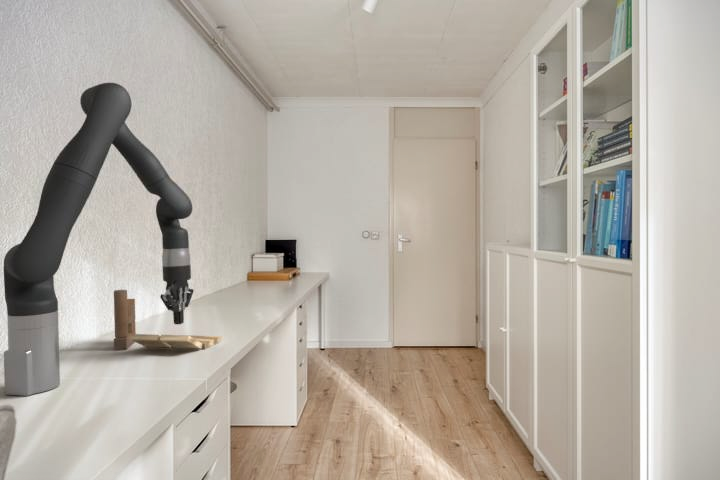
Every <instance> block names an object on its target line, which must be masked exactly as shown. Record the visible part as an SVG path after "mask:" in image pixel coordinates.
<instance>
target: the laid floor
mask: <svg viewBox="0 0 720 480" xmlns="http://www.w3.org/2000/svg"><path fill="white" fill-rule="evenodd" d="M185 335H186V336H190V337H192V338H194V339H195V340H197V341H199V342H201V343H202V348H201V349H200V350H207V349H209V348H210V346H211V347H213V346H215V345H216V344H215V343H217V342H219V341H221V342H222V336H221V335H191V334H190V335H187V334H185ZM219 343H220V342H219ZM214 344H215V345H214ZM217 344H218V343H217ZM212 345H213V346H212ZM208 347H209V348H208ZM148 348H151V349H153V348H154V349H155V348H157V349H168V348H167V347H148ZM206 348H207V349H206ZM170 349H175V348H174V347H171V348H170ZM178 349H181V350H184V349H185V350H188V349H189V350H199V349H198V348H178Z"/></svg>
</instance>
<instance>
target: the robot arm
mask: <svg viewBox="0 0 720 480" xmlns="http://www.w3.org/2000/svg"><path fill="white" fill-rule="evenodd" d="M132 103H133V102H132V98H131V96H130V93H129V92H128V90H127V89H126V88H125V87H124V86H122V85H120V84H119V83H116V82H103V83H99V84H96V85H94V86H91V87H88V88H87V89H85V90H84V91H83V92H82V93H81V95H80V103H79V104H80V107H81V109H82V111H83V113H84V114H85V116H86V117H85V118H84V119H85V120H83V123H82V125H81V126H80V128H79V130H78V131H77V133H76V134H75V135H74V136H73V137H72V138H71V139H70V141H68V143H67V144H66V145H65V146H64V147H63V149H62V150H61V151H60V152H59V154H58V155H57V156H56V158H55V160H54V162H53V164H52V165H51V168H50V170H49V172H48V174H47V176H46V178H45V180H44V184H43V186H42V190H41V194H40V197H39V203H38V207H37V212H36V215H35V218H34V220H33V222H32V224H31V226H30V227H29V229H28V231H27V232H26V235H25V236H24V237H23V239H22V240H21V242H20V243H17V244H16V245H14V246H12V247H11V248H10V249H9V250H8V251H7V252H6V254H5V255H4V259H3V282H4V283H3V285H4V300H5V304H6V311H7V312H6V313H7V350H6V349H5V350H4V351H3V367H4V368H3V369H4V370H3V373H4V375H3V379H4V395H8V396H23V397H24V396H25V397H28V396H31V395H35V394H40V393H43V392H48V391H49V390H53V389H56V388H57V387H59V386H60V384H61V376H60V375H61V373H60V371H61V370H60V369H61V368H60V342H59V341H60V337H59V336H60V332H59V329H60V328H59V302H58V298H57V294H56V290H55V284H54V281H55V280H54V276H55V274H56V273H57V272H58V270H59V269H60V266H61V263H62V260H63V256H64V253H65V249H66V247H67V244H68V240H69V237H70V234H71V232H72V229H73V228H74V226H75V224H76V222H77V220H78V219H79V217H80V215H81V213H82V211H83V209H84V207H85V206H86V203H87V202H88V199H89V197H90V195H91V194H92V191H93V189H94V187H95V184H96V182H97V180H98V178H99V176H100V172H101V169H102V168H103V167H104V163H105V161H106V159H107V156H108V153H109V152H110V149H111V146H112V145H113V146H114V148H115V149H116V150H117V152H119V154H120V155H121V156H122V157H123V158H124V160H125V161H126V162H127V164H128V165H129V166H130V168H131V169H132V170H133V172H134V174H135V175H136V176H137V178H138V179H139V181H140V182H141V184H142V185H143V186H144V188H145V189H146V191H147V192H148V193H150V194H152V195H156V196H157V197H159V199H158V200H157V202H156V205H155V214H156V219H157V222H158V226H159V229H160V231H161V232H160V233H161V238H162V242H161V243H162V254H161V255H162V256H161V259H162V260H161V262H162V264H161V265H162V266H161V268H162V281H163V282H165V283H166V286H165V292H164V293H163V294H160V296H159V297H160V300H161V301H162V302H163V304H164V306H165V307H166V309H167V310H168V311H171V312H172V313H173V314H172V316H173V324H174V325H182V324H184V321H185V320H184V317H185V316H184V312H185V310H186V308H188V307H189V305H190V302H191V300H192V297H193V294H194V288H190V287H189V282H188V281H190V280H191V279H192V271H191V253H190V245H189V244H190V243H189V241H190V239H189V231H188V229H186V228H183V227H182V226H181V223H180V220H184V219H187V218H189V217H190V216H191V215H192V212H193V204H192V200H191V199H190V197H189V196H188V194H187V193H186V192H185V191H184V190H183V189H182V188H181V187H180V186H179V185H178V184H177V183H176V182H175V181H174V180H173V179H172V178H171V177H170V175H169V173H168V172H167V171H166V169H165V167H164V166H163V164H162V162H161V161H160V160H159V159H158V157H157V156H156V155H155V154H154V153H153V151H151V150H150V149H149V148H148V147H147V146H146V145H145V144H144V143H142V141H140V139H139V138H137V137H136V136H135V134H134V133H133V132H132V131H131V130H130V128H129V127H128V125H127V124H126V121H127V118H128V117H129V116H130V114H131V111H132V106H133V105H132Z"/></svg>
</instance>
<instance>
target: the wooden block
mask: <svg viewBox="0 0 720 480" xmlns="http://www.w3.org/2000/svg"><path fill="white" fill-rule="evenodd" d="M113 309H114V310H113V312H114V313H113V314H114V338H113V350H114V351H121V350H122V351H123V350H125V351H126V350H127V349H128V348H130V347H131V346H132V345H133V344H134V343H135V342H134V341H132V340H130V339H129V338H130V335H131V334H137V332H136V299H135V298H128V290H127V289H115V290H113Z"/></svg>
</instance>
